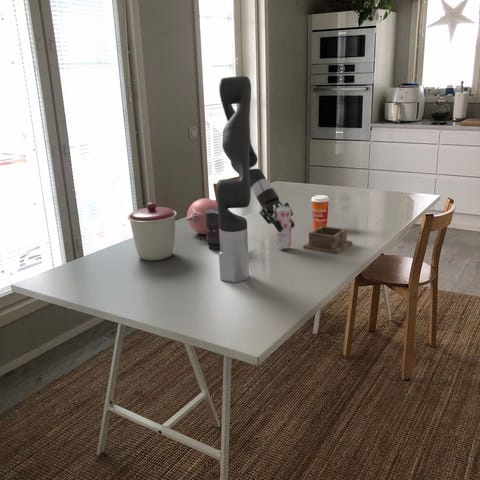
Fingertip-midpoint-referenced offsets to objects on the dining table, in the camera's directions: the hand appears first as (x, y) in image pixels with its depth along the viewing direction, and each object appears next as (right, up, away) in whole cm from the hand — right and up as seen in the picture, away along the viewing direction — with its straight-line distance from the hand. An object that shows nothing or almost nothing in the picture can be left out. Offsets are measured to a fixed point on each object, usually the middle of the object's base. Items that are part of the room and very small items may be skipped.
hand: (287, 228), depth 197 cm
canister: (-50, -11, +2) cm, 51 cm away
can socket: (+16, -7, +5) cm, 18 cm away
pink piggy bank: (-34, -2, +26) cm, 43 cm away
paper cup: (+17, 0, +28) cm, 33 cm away
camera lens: (-27, -8, +9) cm, 29 cm away
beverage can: (-1, -7, +4) cm, 8 cm away
